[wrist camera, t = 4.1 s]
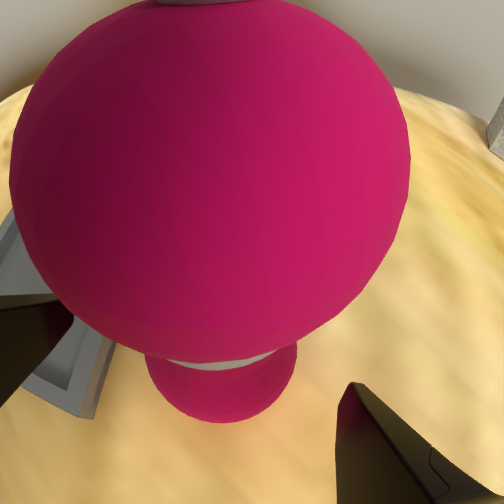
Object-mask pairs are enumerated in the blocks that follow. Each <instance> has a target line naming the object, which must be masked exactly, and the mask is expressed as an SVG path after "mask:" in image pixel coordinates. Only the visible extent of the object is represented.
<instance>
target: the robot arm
mask: <svg viewBox="0 0 504 504" xmlns="http://www.w3.org/2000/svg"><path fill="white" fill-rule="evenodd" d="M73 322H74V314H73V313H71V312H70V311H69V310H68V309H67V308H66V307H65V306H64V305H63V304H62V302H61V301H60V300H59V299H58V298H57V297H56V295H55V294H54V293H46V294H24V295H0V408H1V406H2V405H3V404H4V403H5V402H6V401H7V400H8V399H9V397H10V396H11V395H12V394H13V393H14V392H15V391H16V390H17V389H18V387H19V386H20V385H21V384H22V383H23V382H24V381H25V380H26V379H27V378H28V377H29V375H30V374H31V373H32V372H33V371H34V370H35V369H36V368H37V367H38V366H39V365H40V364H41V363H42V362H43V361H44V360H45V359H46V357H47V356H48V355H49V354H50V353H51V352H52V350H53V349H54V348H55V347H56V345H57V344H58V343H59V341H60V340H61V339H62V338H63V336H64V335H65V334H66V333H67V331H68V330H69V329H70V328H71V326H72V325H73ZM335 462H336V486H337V504H504V496H500V495H498V494H495V493H493V492H492V491H490V490H489V489H487V488H486V487H484V486H483V485H482V484H480V483H479V482H477V481H476V480H475V479H473V478H472V477H470V476H469V475H468V474H466V473H465V472H463V471H462V470H461V469H459V468H458V467H457V466H455V465H454V464H453V463H452V462H450V461H449V460H448V459H447V458H446V457H444V456H443V455H442V454H441V453H440V452H439V451H437V450H436V449H435V448H434V447H432V445H431V444H429V443H428V442H427V441H426V440H425V439H424V438H423V437H422V436H420V435H419V434H418V433H417V432H416V431H415V430H414V429H413V428H411V427H410V426H409V425H408V424H407V423H406V422H405V421H404V420H403V419H401V418H400V417H399V416H398V415H397V414H396V413H395V412H394V411H393V410H392V409H390V408H389V407H388V406H387V405H386V404H385V403H384V402H383V401H382V400H381V399H379V398H378V397H377V396H376V395H375V394H374V393H373V392H372V391H371V390H370V389H369V388H367V387H366V386H365V385H364V384H362V383H356V382H351V383H349V385H348V386H347V388H346V390H345V392H344V394H343V396H342V398H341V400H340V402H339V405H338V411H337V428H336V442H335Z"/></svg>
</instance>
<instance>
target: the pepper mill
mask: <svg viewBox="0 0 504 504" xmlns="http://www.w3.org/2000/svg"><path fill="white" fill-rule="evenodd" d="M410 161H411V155H410V146H409V138H408V130H407V124H406V121H405V118H404V115H403V112H402V109H401V107H400V104H399V101H398V99H397V96H396V94H395V91H394V88H393V87H392V85H391V84H390V82H389V81H388V80H387V78H386V77H385V75H384V74H383V73H382V71H381V70H380V68H379V67H378V66H377V64H376V63H375V62H374V61H373V59H372V58H371V57H370V56H369V54H368V53H367V52H366V51H365V50H364V49H363V48H362V47H361V45H360V44H359V43H358V42H357V41H356V40H355V39H353V38H352V37H351V36H349V35H348V34H347V33H345V32H344V31H343V30H341V29H340V28H338V27H337V26H336V25H334V24H333V23H331V22H329V21H328V20H326V19H324V18H322V17H320V16H318V15H317V14H315V13H313V12H311V11H309V10H307V9H304V8H302V7H299V6H297V5H294V4H291V3H288V2H285V1H282V0H145V1H142V2H139V3H135V4H132V5H130V6H128V7H126V8H124V9H121V10H119V11H117V12H115V13H113V14H112V15H109V16H107V17H105V18H103V19H101V20H100V21H98V22H96V23H94V24H92V25H91V26H89V27H88V28H87V29H85V30H84V31H83V32H82V33H80V34H79V35H78V36H77V37H76V38H74V39H73V40H72V41H71V42H70V43H69V44H68V45H66V46H65V47H64V48H63V49H62V50H61V51H60V52H58V53H57V55H56V56H55V57H54V58H53V60H52V61H51V62H50V63H49V65H48V66H47V68H46V69H45V70H44V71H43V73H42V74H41V76H40V77H39V79H38V80H37V81H36V83H35V84H34V85H33V87H32V89H31V91H30V93H29V95H28V97H27V100H26V102H25V104H24V107H23V109H22V112H21V114H20V117H19V120H18V122H17V125H16V128H15V130H14V135H13V143H12V151H11V161H10V173H9V188H10V194H11V200H12V205H13V211H14V215H15V220H16V223H17V226H18V229H19V232H20V234H21V237H22V240H23V242H24V245H25V247H26V250H27V252H28V255H29V257H30V259H31V261H32V262H33V264H34V266H35V267H36V269H37V271H38V272H39V274H40V275H41V277H42V279H43V280H44V282H45V283H46V284H47V286H48V287H49V288H50V289H51V291H52V292H53V293H54V294H55V295H56V297H57V298H58V299H59V300H60V301H61V302H62V304H63V305H64V306H65V307H66V308H67V309H68V310H69V311H70V312H71V313H73V314H74V315H75V316H77V317H78V318H79V319H81V320H82V321H83V322H85V323H86V324H87V325H89V326H90V327H91V328H93V329H94V330H96V331H97V332H98V333H100V334H101V335H103V336H104V337H106V338H108V339H110V340H113V341H115V342H117V343H119V344H122V345H124V346H126V347H129V348H131V349H134V350H136V351H138V352H141V353H143V354H145V361H146V364H147V367H148V371H149V374H150V377H151V378H152V380H153V382H154V384H155V385H156V387H157V389H158V390H159V391H160V392H161V394H162V395H163V396H164V397H165V398H166V400H167V401H168V402H169V403H171V404H172V405H173V406H174V407H175V408H177V409H178V410H180V411H181V412H183V413H185V414H186V415H188V416H190V417H193V418H196V419H198V420H202V421H206V422H211V423H232V422H238V421H242V420H245V419H249V418H251V417H253V416H255V415H257V414H259V413H261V412H262V411H264V410H265V409H266V408H268V407H269V406H270V405H271V404H272V403H273V402H274V401H276V400H277V399H278V397H279V396H280V395H281V393H282V392H283V390H284V389H285V388H286V386H287V384H288V382H289V380H290V378H291V376H292V374H293V371H294V367H295V363H296V358H297V343H296V341H298V340H299V339H301V338H303V337H304V336H306V335H307V334H309V333H310V332H312V331H314V330H315V329H317V328H318V327H320V326H321V325H323V324H324V323H326V322H327V321H329V320H331V319H332V318H334V317H335V316H337V315H338V314H339V313H340V312H341V311H342V310H343V309H344V308H345V307H346V306H347V305H348V304H349V303H350V302H351V301H352V300H354V299H355V298H356V297H357V296H358V295H359V294H360V293H361V291H362V290H363V289H364V287H365V286H366V284H367V283H368V282H369V280H370V279H371V277H372V276H373V274H374V273H375V271H376V270H377V268H378V267H379V265H380V263H381V262H382V260H383V258H384V257H385V255H386V253H387V252H388V250H389V248H390V247H391V245H392V243H393V241H394V238H395V235H396V232H397V229H398V226H399V223H400V220H401V217H402V214H403V210H404V207H405V204H406V201H407V197H408V188H409V176H410Z"/></svg>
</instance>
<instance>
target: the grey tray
mask: <svg viewBox="0 0 504 504" xmlns="http://www.w3.org/2000/svg"><path fill="white" fill-rule="evenodd" d="M46 293H53V292H52V291H51V289H50V288H49V287H48V286H47V284H46V283H45V282H44V280H43V279H42V277H41V275H40V274H39V272H38V271H37V269H36V267H35V266H34V264H33V262H32V261H31V259H30V257H29V255H28V252H27V250H26V247H25V245H24V242H23V240H22V237H21V234H20V232H19V229H18V226H17V223H16V220H15V215H14V211H13V207H12V209H11V210H10V212H9V213H8V215H7V216H6V218H5V220H4V221H3V223H2V224H1V226H0V295H24V294H46ZM116 343H117V342H115V341H113V340H110V339H108V338H106V337H104V336H103V335H101V334H100V333H98V332H97V331H96V330H94V329H93V328H91V327H90V326H89V325H87V324H86V323H85V322H83V321H82V320H81V319H79V318H78V317H77V316H75V315H74V322H73V325H72V326H71V328H70V329H69V330H68V331H67V333H66V334H65V335H64V336H63V338H62V339H61V340H60V341H59V343H58V344H57V345H56V347H55V348H54V349H53V350H52V352H51V353H50V354H49V355H48V356H47V357H46V359H45V360H44V361H43V362H42V363H41V364H40V365H39V366H38V367H37V368H36V369H35V370H34V371H33V372H32V373H31V374H30V375H29V377H28V378H27V379H26V380H25V381H24V382H23V383H22V384H21V385H20V386H21V387H23V388H25V389H26V390H28V391H30V392H31V393H33V394H35V395H36V396H38V397H40V398H42V399H43V400H45V401H47V402H49V403H51V404H53V405H54V406H56V407H58V408H60V409H62V410H64V411H66V412H68V413H70V414H72V415H74V416H76V417H78V418H85V419H92V420H93V418H94V415H95V411H96V407H97V404H98V400H99V397H100V394H101V390H102V387H103V384H104V380H105V377H106V374H107V371H108V367H109V364H110V361H111V358H112V355H113V352H114V349H115V346H116Z"/></svg>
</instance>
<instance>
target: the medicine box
mask: <svg viewBox="0 0 504 504" xmlns="http://www.w3.org/2000/svg"><path fill="white" fill-rule="evenodd" d="M486 133H487V138H488V144H489V150H490V151H491V152H492V153H494V154H495V155H496V156H498V157H499V158H501V159H502V160H503V161H504V98H503V100H502V102H501V104H500V106H499V108H498V109H497V111H496V113H495V115H494V117H493V119H492V120H491V122H490V124H489V126H488V128H487V130H486Z"/></svg>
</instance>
